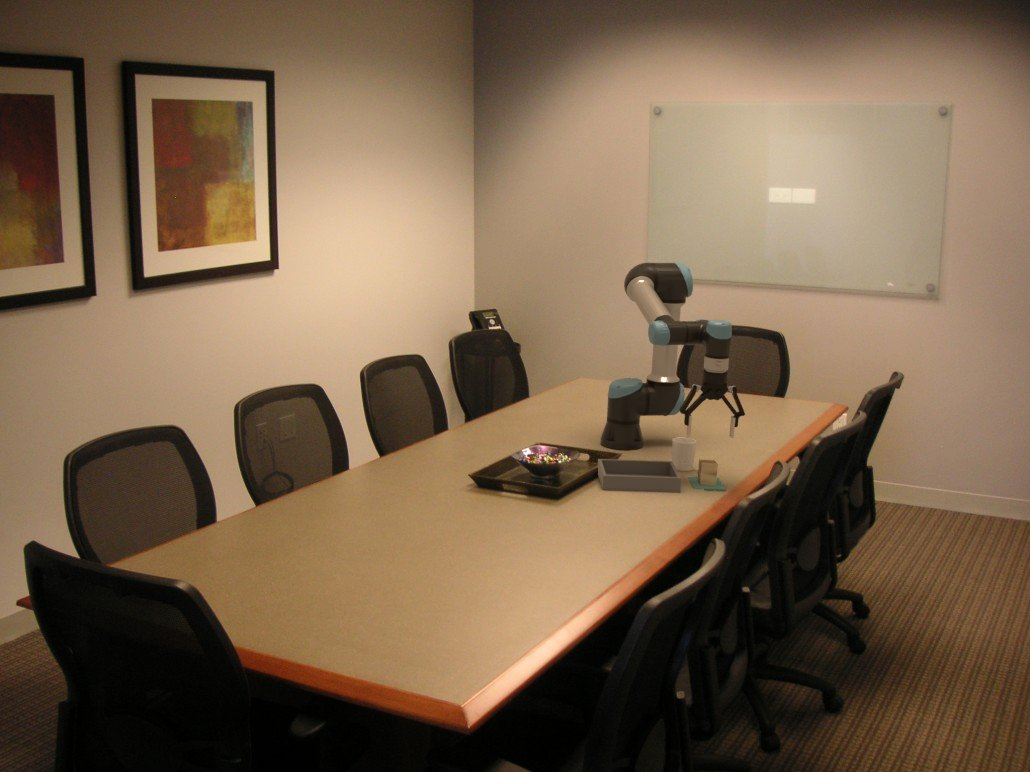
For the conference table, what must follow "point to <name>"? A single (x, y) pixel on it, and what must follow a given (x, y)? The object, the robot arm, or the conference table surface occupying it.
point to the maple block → (707, 472)
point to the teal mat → (696, 485)
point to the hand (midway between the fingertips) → (709, 436)
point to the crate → (638, 475)
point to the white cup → (683, 453)
